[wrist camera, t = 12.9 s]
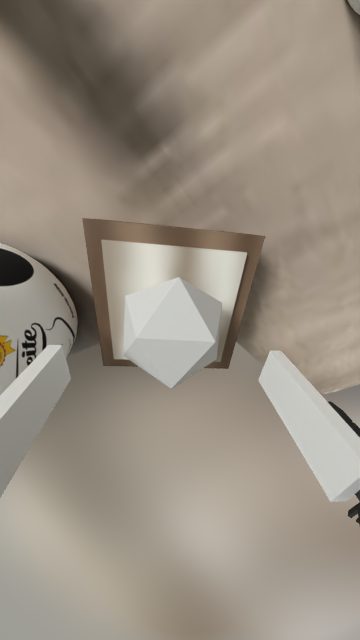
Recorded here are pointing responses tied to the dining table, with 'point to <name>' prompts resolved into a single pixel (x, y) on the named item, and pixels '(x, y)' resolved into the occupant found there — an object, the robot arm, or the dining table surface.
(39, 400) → the robot arm
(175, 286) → the die
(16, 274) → the milk container
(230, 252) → the plinth
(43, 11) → the dining table surface
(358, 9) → the ramekin
